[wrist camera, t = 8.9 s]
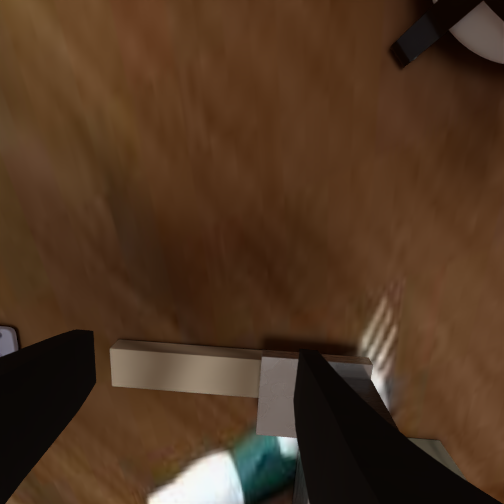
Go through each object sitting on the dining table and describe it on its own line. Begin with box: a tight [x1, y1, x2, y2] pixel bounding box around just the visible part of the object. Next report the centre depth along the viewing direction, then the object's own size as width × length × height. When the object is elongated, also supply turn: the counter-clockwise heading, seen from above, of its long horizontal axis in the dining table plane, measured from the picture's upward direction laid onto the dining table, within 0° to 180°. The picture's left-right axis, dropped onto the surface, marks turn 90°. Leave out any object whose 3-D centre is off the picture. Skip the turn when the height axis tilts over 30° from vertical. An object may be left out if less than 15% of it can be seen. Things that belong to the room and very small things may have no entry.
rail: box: [110, 339, 262, 398], centre depth 20 cm, size 18×3×1 cm, turn 87°
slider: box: [256, 350, 400, 504], centre depth 18 cm, size 7×16×7 cm, turn 177°
